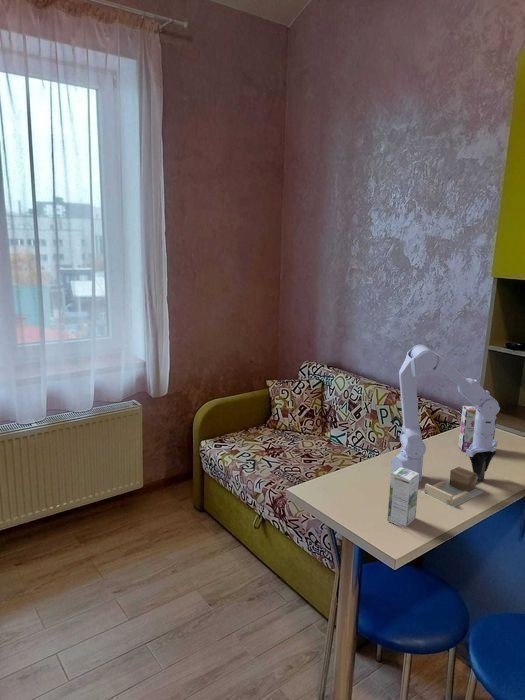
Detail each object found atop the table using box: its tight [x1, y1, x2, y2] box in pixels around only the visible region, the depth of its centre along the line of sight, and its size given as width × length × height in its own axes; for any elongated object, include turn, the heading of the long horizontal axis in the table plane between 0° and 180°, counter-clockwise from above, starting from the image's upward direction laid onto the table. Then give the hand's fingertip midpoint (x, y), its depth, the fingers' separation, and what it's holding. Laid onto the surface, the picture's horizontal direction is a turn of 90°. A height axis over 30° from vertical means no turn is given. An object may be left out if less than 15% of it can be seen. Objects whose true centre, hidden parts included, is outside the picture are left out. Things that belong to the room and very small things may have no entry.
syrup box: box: [387, 467, 420, 529], centre depth 133 cm, size 6×6×14 cm
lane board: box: [420, 478, 484, 509], centre depth 149 cm, size 16×11×4 cm
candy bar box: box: [457, 405, 498, 452], centre depth 180 cm, size 11×5×16 cm, turn 84°
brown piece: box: [449, 461, 486, 492], centre depth 154 cm, size 13×6×6 cm, turn 125°
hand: (479, 471), depth 157 cm, fingers closed on brown piece, 3 cm apart
